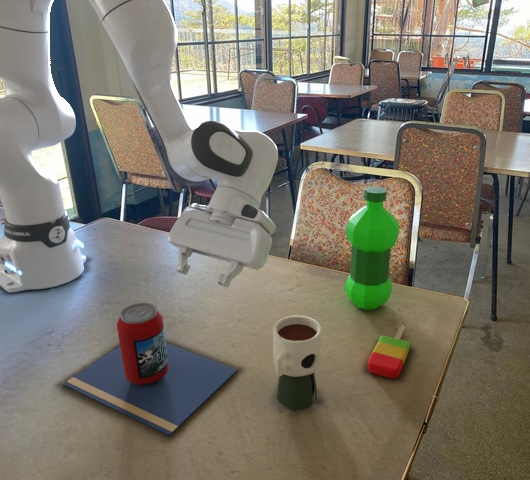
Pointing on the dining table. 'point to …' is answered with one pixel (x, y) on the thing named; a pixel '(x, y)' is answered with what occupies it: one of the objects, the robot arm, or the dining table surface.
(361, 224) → the plastic bottle
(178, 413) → the blue book
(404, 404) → the dining table surface
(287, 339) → the character mug
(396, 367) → the popsicle
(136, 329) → the beverage can
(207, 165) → the robot arm
